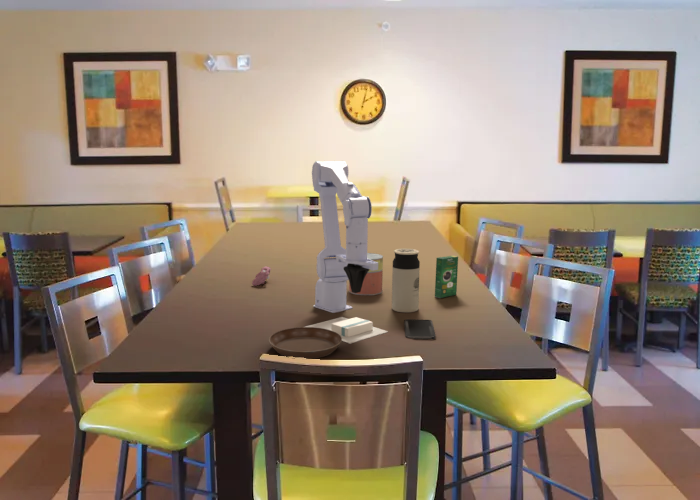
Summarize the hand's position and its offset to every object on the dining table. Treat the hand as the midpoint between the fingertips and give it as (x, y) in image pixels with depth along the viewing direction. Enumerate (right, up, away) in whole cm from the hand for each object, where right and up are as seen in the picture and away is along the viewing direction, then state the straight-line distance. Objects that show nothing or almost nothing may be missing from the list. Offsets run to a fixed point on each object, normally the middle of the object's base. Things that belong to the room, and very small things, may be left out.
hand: (356, 292), depth 168 cm
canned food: (+4, -3, +41) cm, 41 cm away
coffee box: (+30, -4, +35) cm, 46 cm away
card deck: (-3, -9, -1) cm, 9 cm away
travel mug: (+15, -7, +19) cm, 25 cm away
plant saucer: (-13, -13, -16) cm, 24 cm away
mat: (-3, -10, -1) cm, 11 cm away
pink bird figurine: (-33, -1, +51) cm, 61 cm away
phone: (+17, -11, -1) cm, 20 cm away
